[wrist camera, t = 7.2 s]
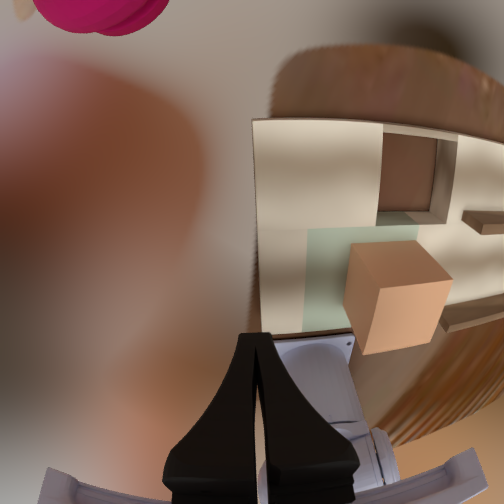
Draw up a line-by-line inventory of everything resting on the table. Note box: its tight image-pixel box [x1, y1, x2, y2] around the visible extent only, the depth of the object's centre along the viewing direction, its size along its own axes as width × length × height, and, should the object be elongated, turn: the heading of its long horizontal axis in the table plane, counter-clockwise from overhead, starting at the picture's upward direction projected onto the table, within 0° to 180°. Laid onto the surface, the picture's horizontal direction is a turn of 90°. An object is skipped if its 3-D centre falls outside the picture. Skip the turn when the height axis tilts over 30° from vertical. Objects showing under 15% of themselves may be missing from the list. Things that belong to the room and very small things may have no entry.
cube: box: [343, 240, 454, 355], centre depth 17 cm, size 5×5×5 cm
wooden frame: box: [439, 210, 504, 333], centre depth 18 cm, size 10×12×2 cm
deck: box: [252, 118, 504, 335], centre depth 19 cm, size 15×26×2 cm, turn 93°
